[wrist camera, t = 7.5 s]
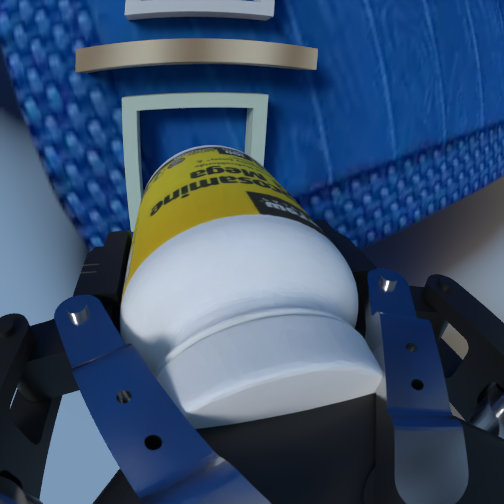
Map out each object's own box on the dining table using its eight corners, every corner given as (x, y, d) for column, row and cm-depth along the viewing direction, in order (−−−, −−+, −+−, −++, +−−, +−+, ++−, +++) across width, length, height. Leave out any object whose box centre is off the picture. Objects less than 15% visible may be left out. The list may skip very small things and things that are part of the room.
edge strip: (301, 51, 21) (317, 48, 18) (300, 70, 22) (316, 69, 19) (87, 52, 17) (76, 49, 15) (87, 72, 18) (75, 72, 15)
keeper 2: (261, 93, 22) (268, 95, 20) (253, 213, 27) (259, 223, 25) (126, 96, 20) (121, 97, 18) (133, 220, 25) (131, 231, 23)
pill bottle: (282, 147, 14) (476, 303, 5) (263, 264, 17) (358, 462, 8) (140, 139, 12) (63, 340, 3) (141, 266, 15) (142, 498, 6)
